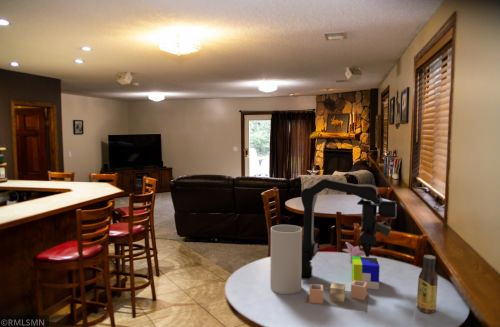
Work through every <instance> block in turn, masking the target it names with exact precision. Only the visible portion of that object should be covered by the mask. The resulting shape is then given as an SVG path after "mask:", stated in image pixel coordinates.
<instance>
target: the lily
mask: <svg viewBox="0 0 500 327" xmlns="http://www.w3.org/2000/svg"><path fill="white" fill-rule="evenodd" d="M345 245H346V247H347V248H343V249H342V251H343V252H346V253H348V254H349V257H350V258H351V259H350V263H352V257H366V255H365V253H364V250H360V246H359V245H357V246H353V245H352V244H351V243H349V241H348V242H347V241H345Z"/></svg>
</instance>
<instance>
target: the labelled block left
mask: <svg viewBox="0 0 500 327" xmlns="http://www.w3.org/2000/svg"><path fill="white" fill-rule="evenodd" d="M323 288H324V285H323V284H311V283H310V284H309V290H308V291H309V292H308V295H309V303H308V304H310V303H323Z"/></svg>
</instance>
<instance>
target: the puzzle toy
mask: <svg viewBox="0 0 500 327" xmlns="http://www.w3.org/2000/svg"><path fill="white" fill-rule="evenodd" d="M351 259H352V262H351V280H352V281H351V282H352V283H353V281H354V280H356V281H361V282H367V289H372V290H374V289H375V290H379V289H380V264H379V261H378V258H376V257H366V256H361V257H352V258H351Z"/></svg>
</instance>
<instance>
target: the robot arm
mask: <svg viewBox="0 0 500 327" xmlns="http://www.w3.org/2000/svg"><path fill="white" fill-rule="evenodd" d="M325 189H327V190H333V191H337V192H341V193H342V192H343V193H347V194H351V195H354V196H357V197H358V198H361V199H360V200H359V201H358V202H357V203H356V204H357V206H358V205H360V206H361V231H360V232H361V233H360V234H359V243H360V244H361V247H362V251H363V252H364V253H365V257H367V258H370V254H371V249H372V247H373V245H376V243H377V233H379V234H382V235H383V236H385V237H389V235H390V233H391V231H392V227H391V226H390V225H389V224H388V221H385V220H384V221H382V222H380V221H378V218H377V214H378V215H379V216H380V217H381V218H387V219H397V201H396V200H383V198H382V197H381V195H380V194H379V190H378V187H377V186H376V185H373V184H367V183H366V184H364V183H363V184H355V183H351V182H350V183H349V182H344V181H340V180H335V179H330V178H328V177H325V178H323V179H321V180H320V181H318V182H317V183H316V184H314V185H312V186H308V187H306V188H304V189H302V190H301V193H300V198H301V199H300V200H301V203H302V206H303V239H302V274H301V279H304V280H305V279H306V280H310V279H311V277H312V276H313V265H312V261H313V259H314V258H315V257H316V255H317V253H318V252H319V251H318V247H319V246H318V245H319V243H318V242H317V243H316V242H315V239H314V230H315V229H314V228H315V224H314V222H315V206H316V203H317V199H318V194H319V193H321V192H322V191H323V190H325Z"/></svg>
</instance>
